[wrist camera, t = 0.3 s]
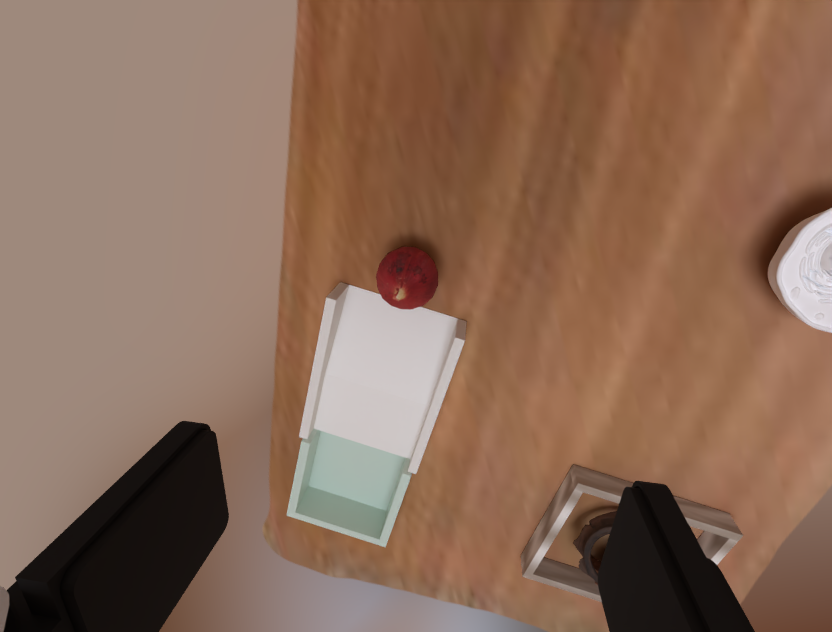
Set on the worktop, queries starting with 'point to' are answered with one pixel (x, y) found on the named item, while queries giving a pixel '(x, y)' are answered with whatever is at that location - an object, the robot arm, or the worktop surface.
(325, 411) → the white piece
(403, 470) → the tray
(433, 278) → the red round fruit
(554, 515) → the mug stand
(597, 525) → the pottery mug
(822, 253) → the cell model
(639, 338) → the worktop surface
